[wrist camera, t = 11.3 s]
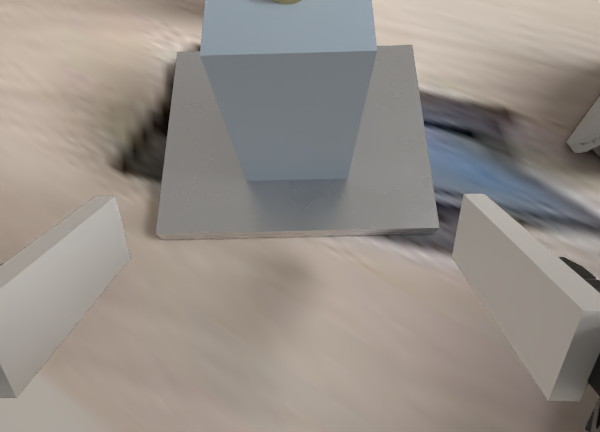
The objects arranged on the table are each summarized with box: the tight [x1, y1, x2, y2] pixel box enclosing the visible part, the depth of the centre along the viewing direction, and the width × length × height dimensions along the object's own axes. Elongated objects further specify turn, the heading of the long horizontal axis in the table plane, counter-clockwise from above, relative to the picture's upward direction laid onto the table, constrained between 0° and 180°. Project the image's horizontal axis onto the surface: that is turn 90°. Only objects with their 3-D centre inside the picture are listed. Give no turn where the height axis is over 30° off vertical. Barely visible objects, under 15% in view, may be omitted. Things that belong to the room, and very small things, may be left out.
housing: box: [200, 0, 377, 181], centre depth 18 cm, size 6×6×11 cm
